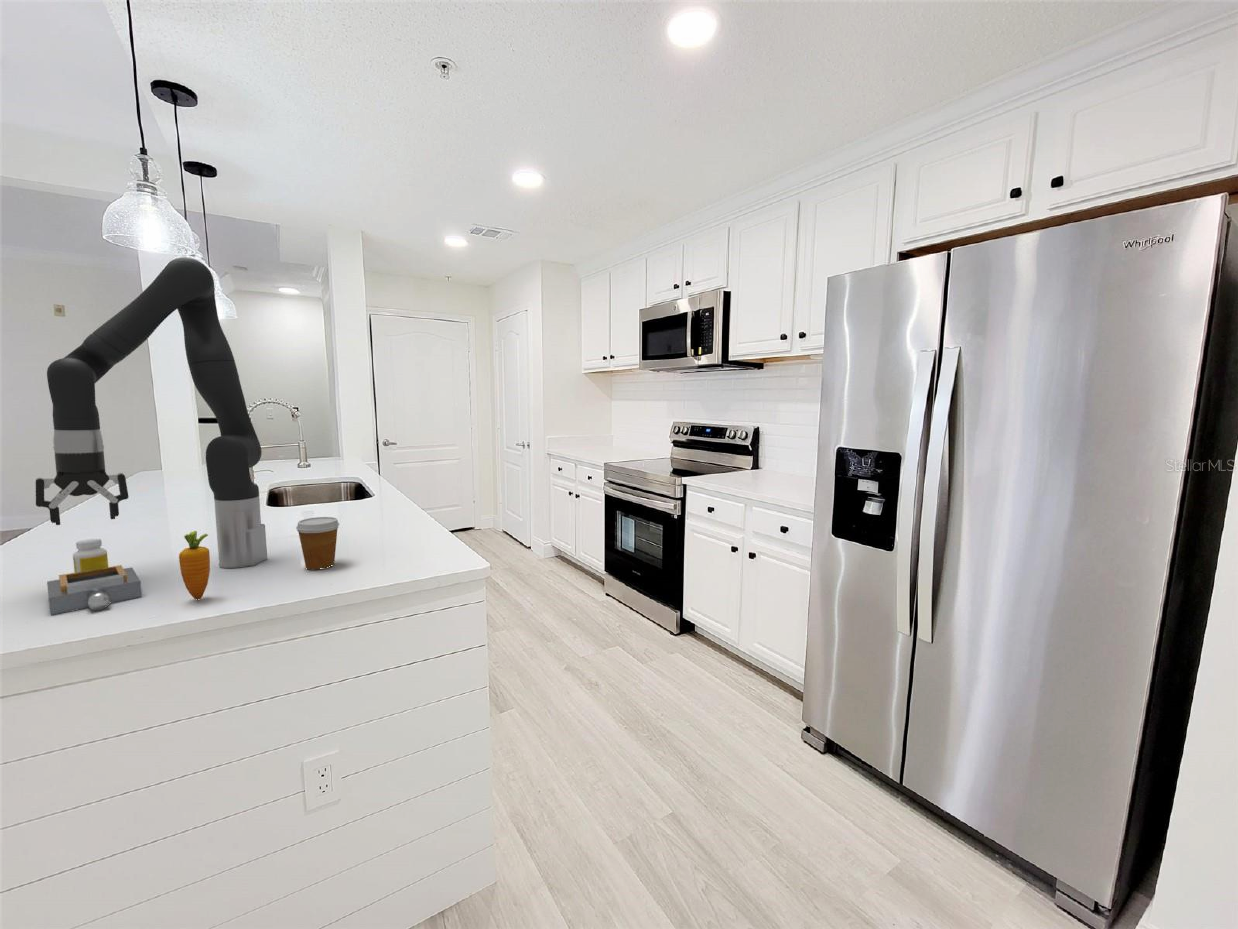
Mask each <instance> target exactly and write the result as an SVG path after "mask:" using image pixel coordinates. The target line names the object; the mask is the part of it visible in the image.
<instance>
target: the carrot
mask: <svg viewBox="0 0 1238 929" xmlns="http://www.w3.org/2000/svg"><path fill="white" fill-rule="evenodd" d="M208 536H209V534H207V533H203V534H202V535H201V536H200V537H199V538H197V537H198V531H197V530H194V531H190V532H189V533H187V534H185V535H184V536H183V537H184V539H185V541H186V542H187V543H188V546H189V547H187V548H184V549H183V550H182V551H181V552H180V553H179V555H178V559H179V560H178V561H179V568H180V573H181V577H182V580H183V583H184V586H185V588H186V590H187V591H188V593H189V594H190V596H192V598H193V599H194V600H196V599H197V600H196V601H199V600H198V599H200V600H201V599H202V598H203V595H204V594H205V591H206V589H207V587H208V583H209V580H210V579H209V578H210V570H211V562H210V561H211V560H210V558H211V557H210V549H209V548H208V547H207V546H201V545H200V543H201V542H202V541H203V540H204V539H205V538H206V537H208Z"/></svg>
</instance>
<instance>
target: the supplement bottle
mask: <svg viewBox="0 0 1238 929" xmlns="http://www.w3.org/2000/svg"><path fill="white" fill-rule="evenodd" d="M75 544H76V545H75V547H76V549H77V551H74V552H73V553H72V561H73V573H76V572H82V571H88V570H94V569H100V568H106V567H109V559H108V551H107V549H105V548H103V547H101V546H103V543H102V539H101V538H89V539H83V540H78V541H77V542H75Z"/></svg>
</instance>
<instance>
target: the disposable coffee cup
mask: <svg viewBox="0 0 1238 929" xmlns="http://www.w3.org/2000/svg"><path fill="white" fill-rule="evenodd" d="M339 526H340V522H339V520H338V518H337V517H333V516H318V517H310V518H304V519H301V520H299V521H297V526H295V529H296V531H297V532H298V535H299V541H300V545H301V550H302V551H301V552H302V556H303V560H304V565H305V569H306V568H307V569H306V570H308V569H311V570H310V571H313V570H312V569H320V568H327V567H329V566H331V565H334V566H335V561H336V560H335V559H336V548H337V541H338V540H337V539H338V528H339ZM327 569H328V568H327Z"/></svg>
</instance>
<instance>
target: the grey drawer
mask: <svg viewBox="0 0 1238 929" xmlns="http://www.w3.org/2000/svg"><path fill="white" fill-rule="evenodd" d="M46 586H47V593H48V595H47V596H48V604H49V611H50V612H49V614H50V616H54V615H58V614H59V613H60V614H63V613H68V611H70V612H73V611H72V610H75V611H77V610H76V609H80V610H83V609H84V610H85V609H88V608H89V609H91V610H93V611H102V610H105V609H106V608H107V607H108V606H109V605H110V604H111V603H110V602H114V603H118V602H117V601H119V602H123V601H122V600H124V601H126V600H125V599H129V600H133V598H134V599H137V598H136V597H139V598H142V597H143V596H142V595H143V594H142V585H141V580H140V578H139V577H138V575H137V573H136V571H135V569H134V568H133V567H126V568H124V567H123V565H121V564H120V565H114V566H108V567H106V568H100V569H94V570H88V571H82V572H76V573H75V572H70V573H65V574H58V579H54V580H49V581H46ZM141 596H142V597H141Z"/></svg>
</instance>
